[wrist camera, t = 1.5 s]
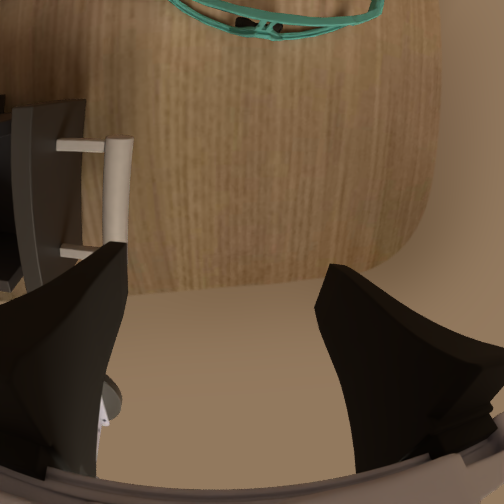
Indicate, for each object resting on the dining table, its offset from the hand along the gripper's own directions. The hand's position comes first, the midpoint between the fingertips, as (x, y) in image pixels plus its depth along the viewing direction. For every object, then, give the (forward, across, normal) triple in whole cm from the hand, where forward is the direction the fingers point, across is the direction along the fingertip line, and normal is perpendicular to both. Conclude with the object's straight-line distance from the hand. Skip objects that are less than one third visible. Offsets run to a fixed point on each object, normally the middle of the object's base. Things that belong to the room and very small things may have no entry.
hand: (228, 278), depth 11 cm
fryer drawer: (+10, +13, 0) cm, 16 cm away
